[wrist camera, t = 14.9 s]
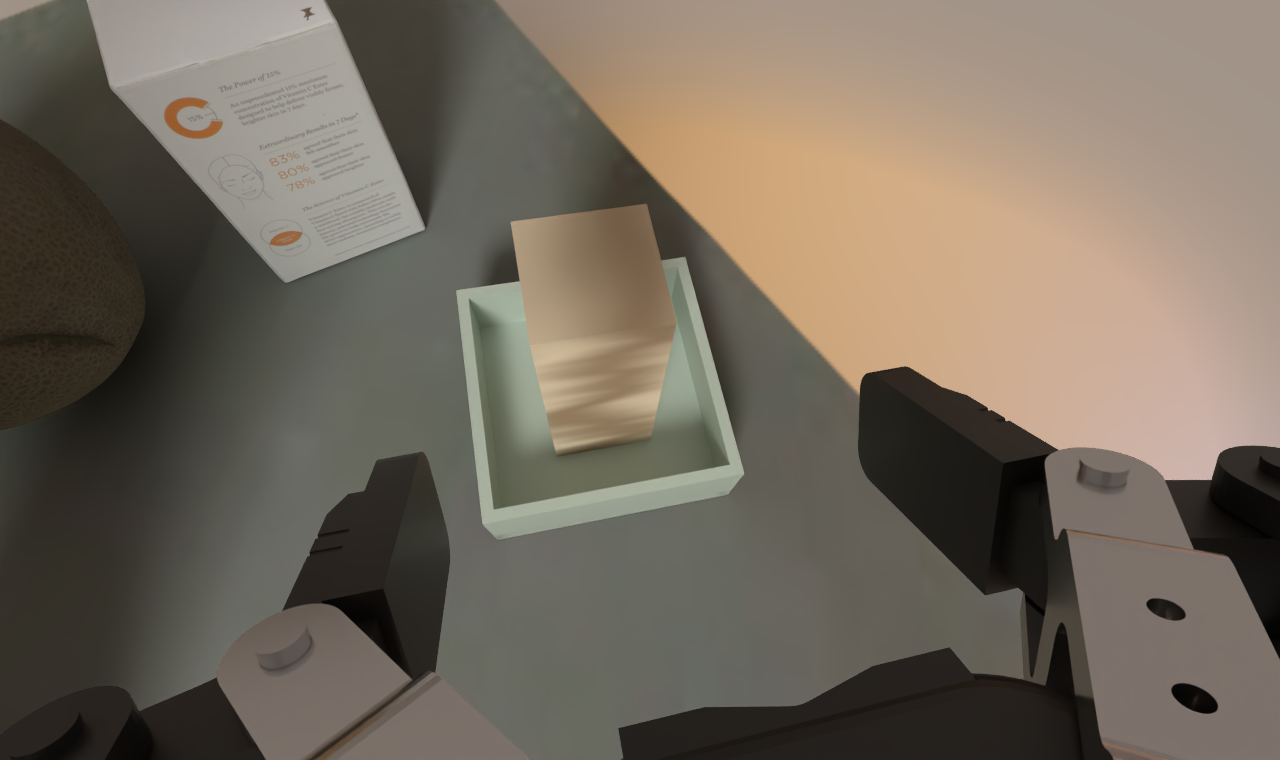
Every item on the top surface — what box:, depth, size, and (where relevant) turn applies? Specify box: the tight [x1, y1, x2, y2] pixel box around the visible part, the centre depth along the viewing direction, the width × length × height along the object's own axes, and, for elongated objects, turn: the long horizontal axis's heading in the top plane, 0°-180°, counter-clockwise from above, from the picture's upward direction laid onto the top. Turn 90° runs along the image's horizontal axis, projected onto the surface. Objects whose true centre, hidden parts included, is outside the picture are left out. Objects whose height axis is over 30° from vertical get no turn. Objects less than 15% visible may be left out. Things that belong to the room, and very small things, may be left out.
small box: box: [86, 0, 425, 283], centre depth 30 cm, size 8×6×13 cm
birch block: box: [511, 204, 677, 457], centre depth 26 cm, size 4×4×12 cm
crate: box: [456, 257, 744, 540], centre depth 30 cm, size 11×11×4 cm
